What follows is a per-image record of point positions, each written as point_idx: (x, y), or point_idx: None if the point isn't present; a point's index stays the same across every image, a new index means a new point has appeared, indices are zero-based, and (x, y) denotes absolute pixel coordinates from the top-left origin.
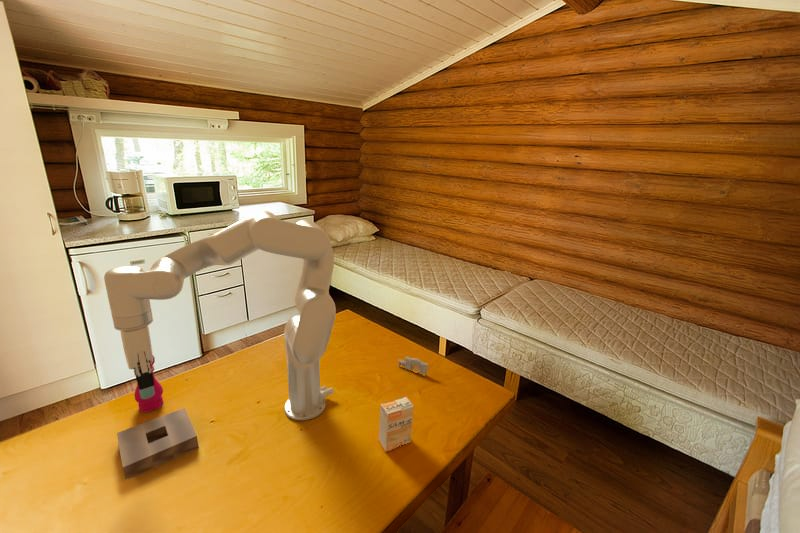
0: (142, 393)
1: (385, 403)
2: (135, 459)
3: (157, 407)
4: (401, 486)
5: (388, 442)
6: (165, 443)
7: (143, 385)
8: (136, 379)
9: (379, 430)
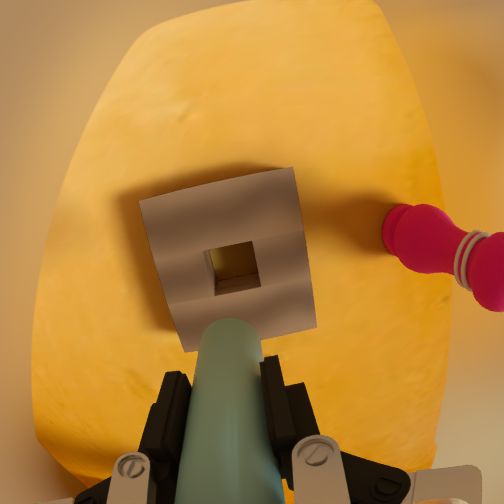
0: (201, 349)
1: None
2: (154, 226)
3: (385, 245)
4: (71, 467)
5: None
6: (184, 290)
7: (153, 409)
8: (265, 369)
9: None
